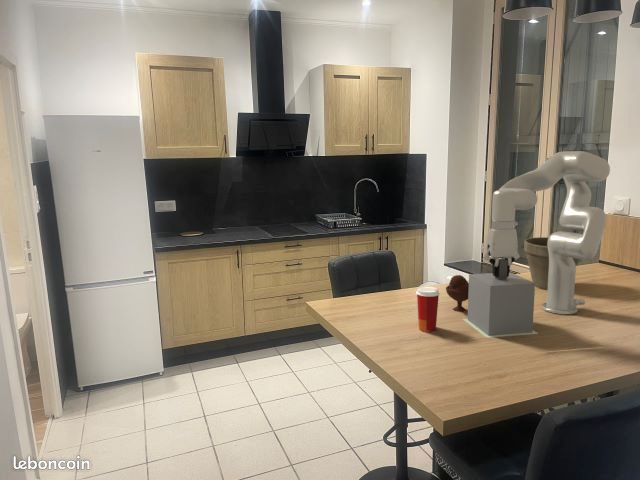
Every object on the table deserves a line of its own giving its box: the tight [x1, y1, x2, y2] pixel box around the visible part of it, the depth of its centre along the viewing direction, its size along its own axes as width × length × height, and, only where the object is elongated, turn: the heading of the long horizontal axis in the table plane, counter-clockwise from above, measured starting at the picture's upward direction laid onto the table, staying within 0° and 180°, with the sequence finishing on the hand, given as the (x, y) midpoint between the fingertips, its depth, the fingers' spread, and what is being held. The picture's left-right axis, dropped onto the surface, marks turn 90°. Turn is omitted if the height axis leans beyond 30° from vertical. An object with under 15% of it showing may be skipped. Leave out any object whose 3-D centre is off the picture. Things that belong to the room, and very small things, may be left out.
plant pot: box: [523, 236, 580, 291], centre depth 213 cm, size 25×25×22 cm
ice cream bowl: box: [445, 274, 469, 313], centre depth 183 cm, size 11×11×15 cm
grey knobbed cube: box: [467, 258, 536, 336], centre depth 163 cm, size 16×16×25 cm
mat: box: [462, 318, 539, 339], centre depth 166 cm, size 19×19×1 cm
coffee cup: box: [415, 286, 441, 333], centre depth 164 cm, size 8×8×15 cm
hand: (500, 275), depth 162 cm, fingers closed on grey knobbed cube, 3 cm apart
